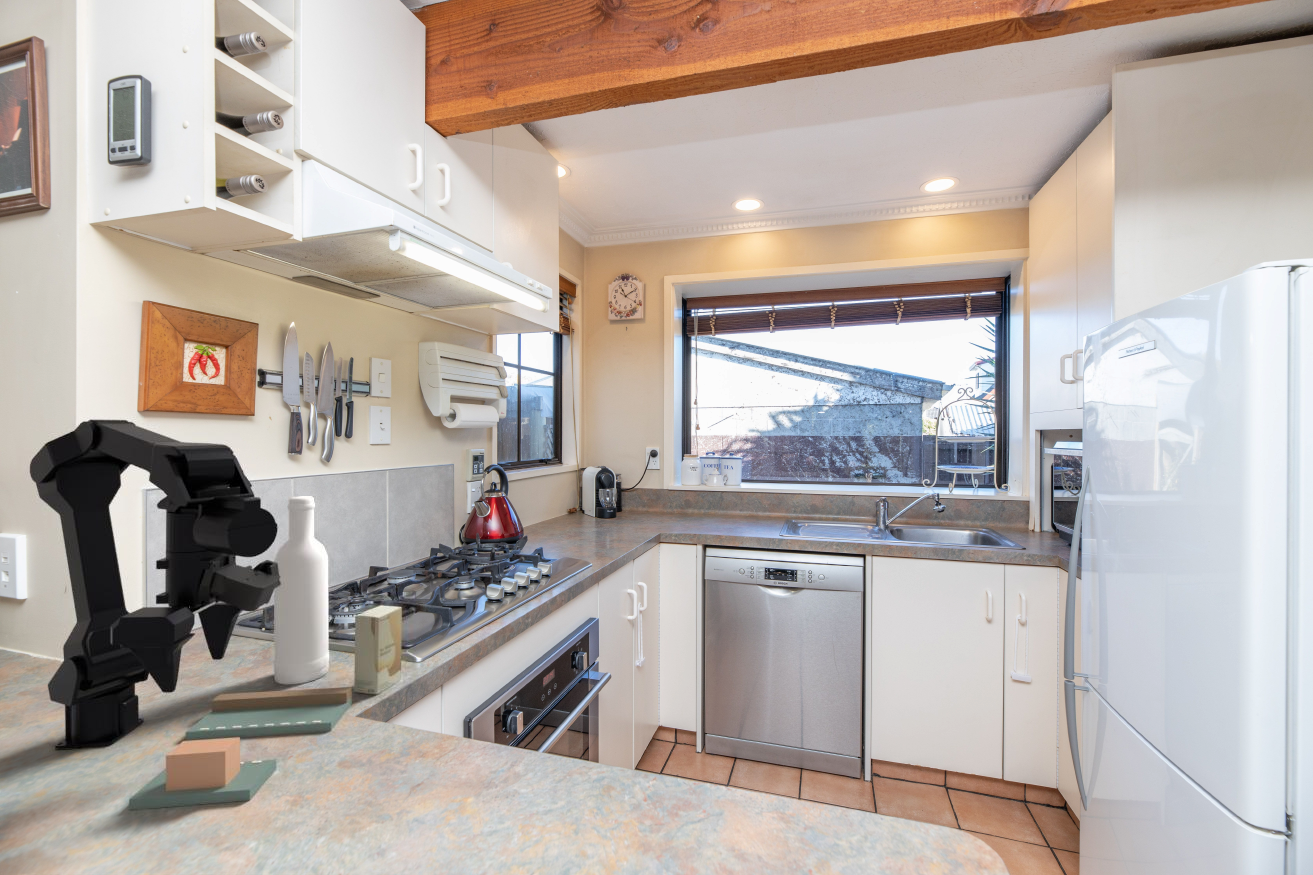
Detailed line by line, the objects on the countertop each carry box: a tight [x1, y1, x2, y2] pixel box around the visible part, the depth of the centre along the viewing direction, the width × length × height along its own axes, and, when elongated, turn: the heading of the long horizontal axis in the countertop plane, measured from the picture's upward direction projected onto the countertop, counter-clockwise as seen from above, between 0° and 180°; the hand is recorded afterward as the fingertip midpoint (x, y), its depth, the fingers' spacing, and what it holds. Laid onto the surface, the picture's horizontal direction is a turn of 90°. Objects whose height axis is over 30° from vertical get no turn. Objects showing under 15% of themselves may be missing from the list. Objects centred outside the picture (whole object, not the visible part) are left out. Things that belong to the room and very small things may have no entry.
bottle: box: [273, 495, 330, 686], centre depth 98 cm, size 8×8×30 cm
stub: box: [128, 737, 277, 811], centre depth 67 cm, size 12×6×5 cm, turn 99°
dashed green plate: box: [185, 686, 353, 741], centre depth 83 cm, size 18×8×3 cm, turn 99°
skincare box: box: [353, 604, 403, 695], centre depth 94 cm, size 6×4×12 cm
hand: (195, 674), depth 71 cm, fingers open, 9 cm apart
